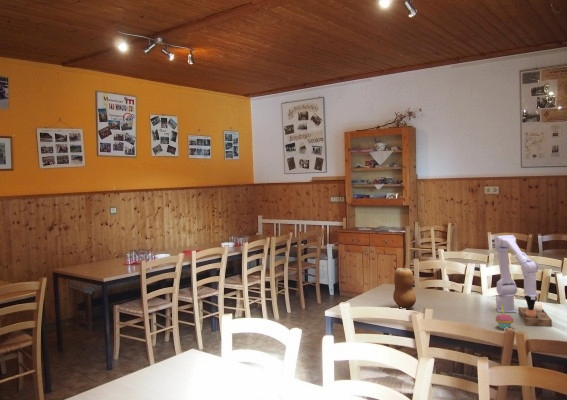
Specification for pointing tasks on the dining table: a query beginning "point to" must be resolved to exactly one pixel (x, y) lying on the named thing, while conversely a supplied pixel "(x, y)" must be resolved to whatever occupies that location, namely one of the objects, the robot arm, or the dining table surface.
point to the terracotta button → (531, 313)
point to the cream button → (538, 307)
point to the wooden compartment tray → (540, 319)
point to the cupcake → (504, 320)
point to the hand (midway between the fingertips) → (530, 309)
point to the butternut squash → (404, 288)
